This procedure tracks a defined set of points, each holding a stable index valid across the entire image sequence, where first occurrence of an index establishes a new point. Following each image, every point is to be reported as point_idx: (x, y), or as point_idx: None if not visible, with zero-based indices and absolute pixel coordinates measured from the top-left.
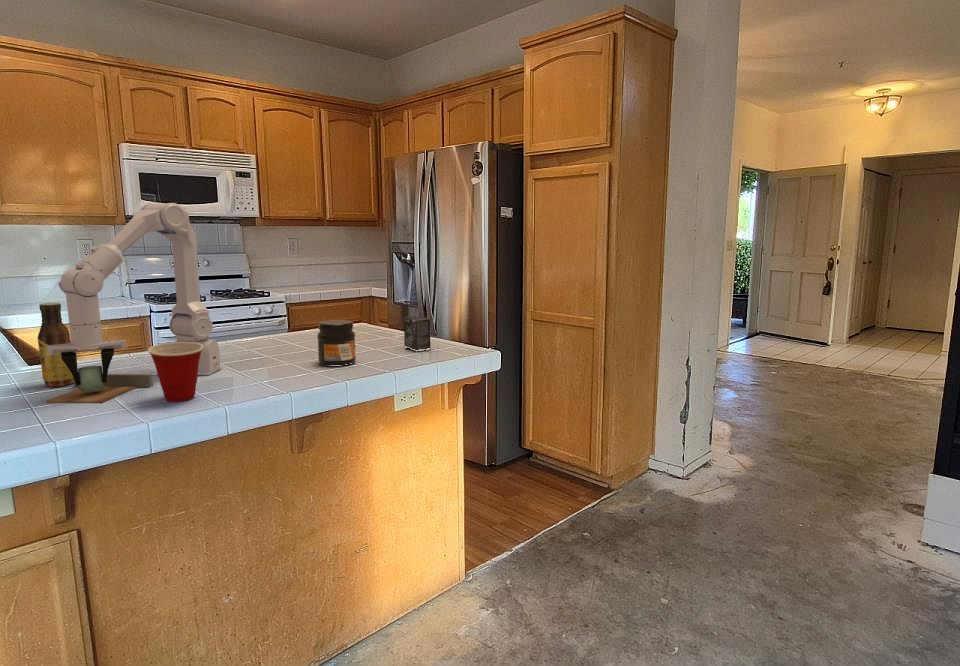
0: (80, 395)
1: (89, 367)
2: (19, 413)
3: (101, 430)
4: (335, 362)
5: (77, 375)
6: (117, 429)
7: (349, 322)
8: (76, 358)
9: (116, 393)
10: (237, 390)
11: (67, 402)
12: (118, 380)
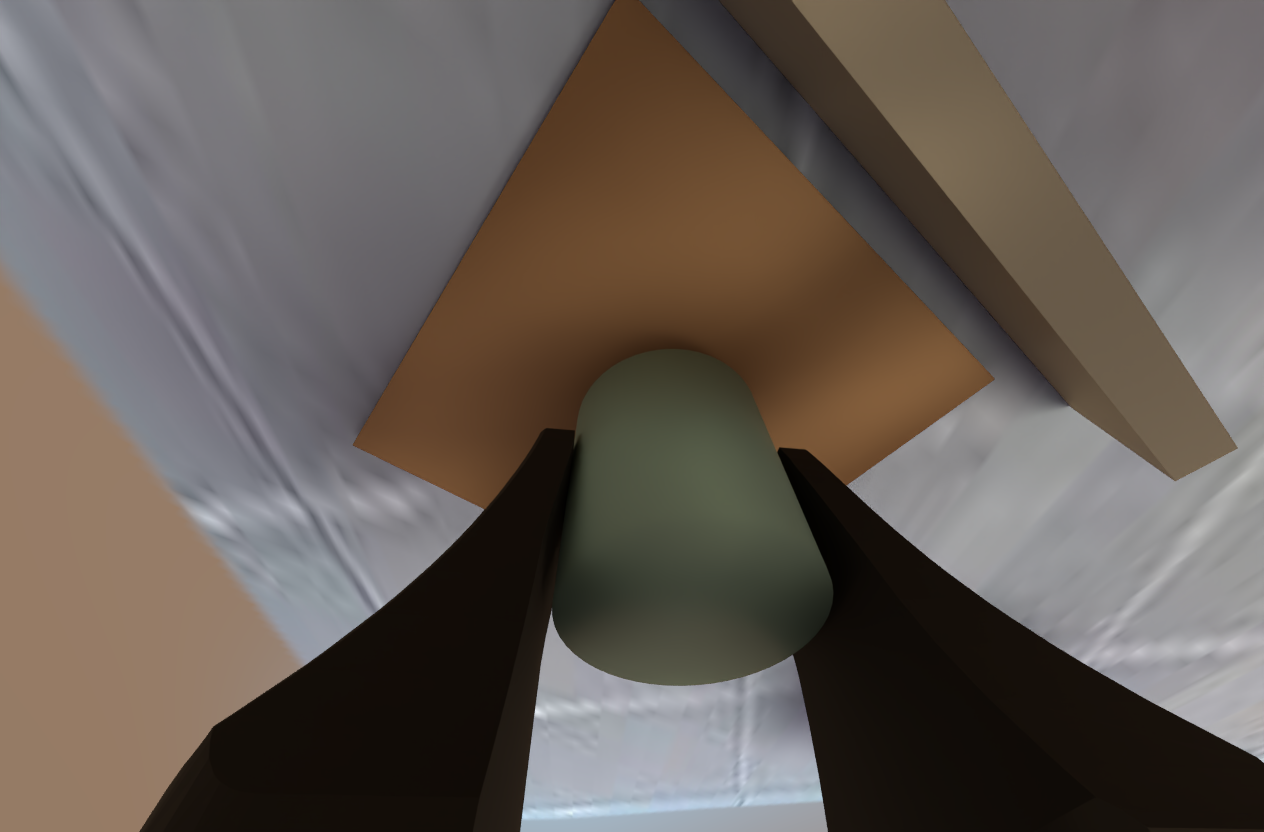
0: (576, 423)
1: (688, 606)
2: (284, 573)
3: (624, 797)
4: None
5: (550, 605)
6: (662, 803)
7: None
8: (513, 705)
9: None
10: (1229, 675)
11: None
12: (968, 258)
